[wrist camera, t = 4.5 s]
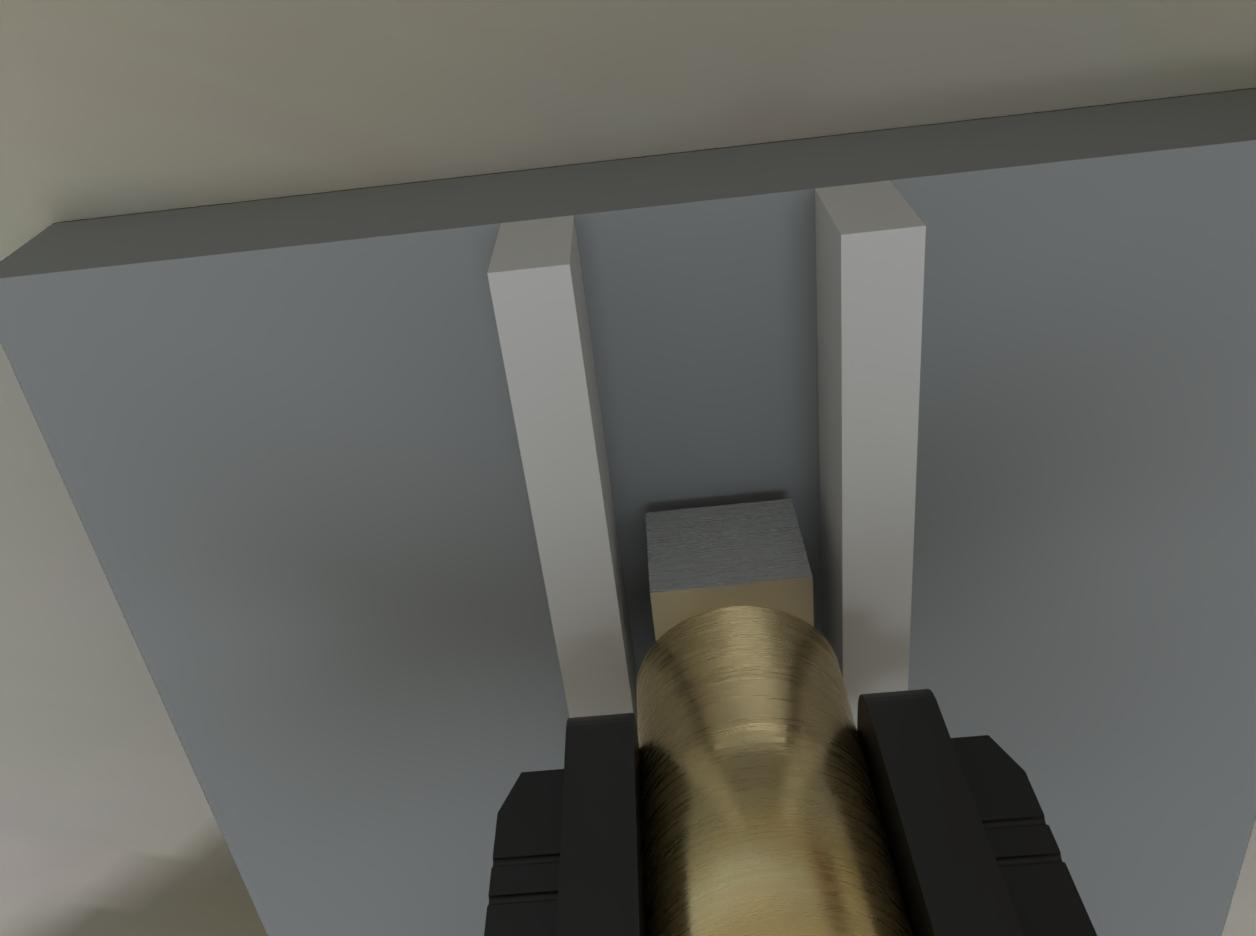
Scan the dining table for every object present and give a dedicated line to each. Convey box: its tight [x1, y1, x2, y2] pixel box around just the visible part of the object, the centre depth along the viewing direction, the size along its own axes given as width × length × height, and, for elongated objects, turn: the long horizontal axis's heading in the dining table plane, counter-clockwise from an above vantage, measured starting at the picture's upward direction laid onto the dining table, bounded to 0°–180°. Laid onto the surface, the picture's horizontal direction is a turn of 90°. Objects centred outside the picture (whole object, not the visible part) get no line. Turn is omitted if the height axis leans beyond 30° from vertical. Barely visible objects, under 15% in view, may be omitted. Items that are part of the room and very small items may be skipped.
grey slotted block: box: [0, 88, 1256, 936], centre depth 15 cm, size 16×14×4 cm
